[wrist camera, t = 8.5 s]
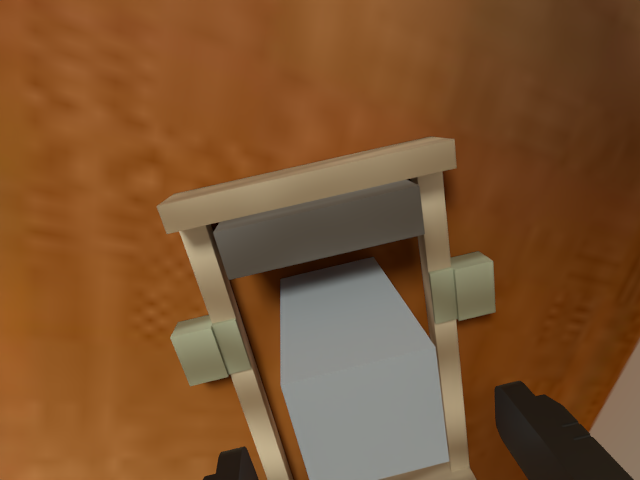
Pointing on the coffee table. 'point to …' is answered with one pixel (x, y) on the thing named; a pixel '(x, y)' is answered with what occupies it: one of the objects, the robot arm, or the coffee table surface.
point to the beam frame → (319, 242)
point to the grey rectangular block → (358, 375)
